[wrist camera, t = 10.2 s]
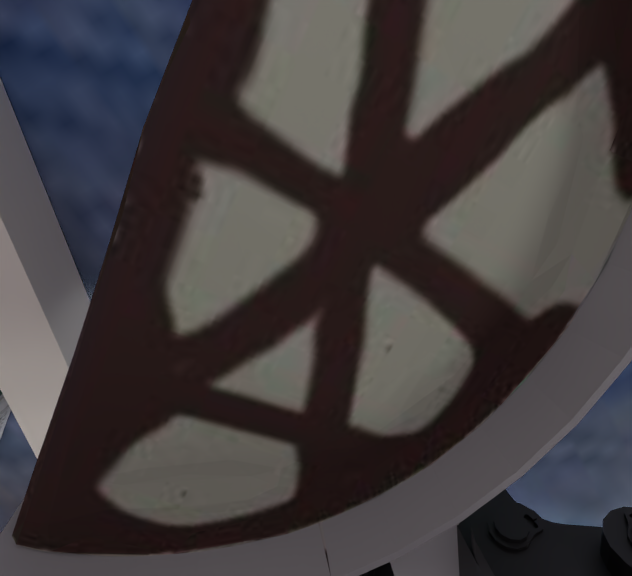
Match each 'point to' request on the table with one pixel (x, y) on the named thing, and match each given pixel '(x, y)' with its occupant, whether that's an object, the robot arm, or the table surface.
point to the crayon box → (3, 412)
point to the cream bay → (33, 288)
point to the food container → (343, 287)
